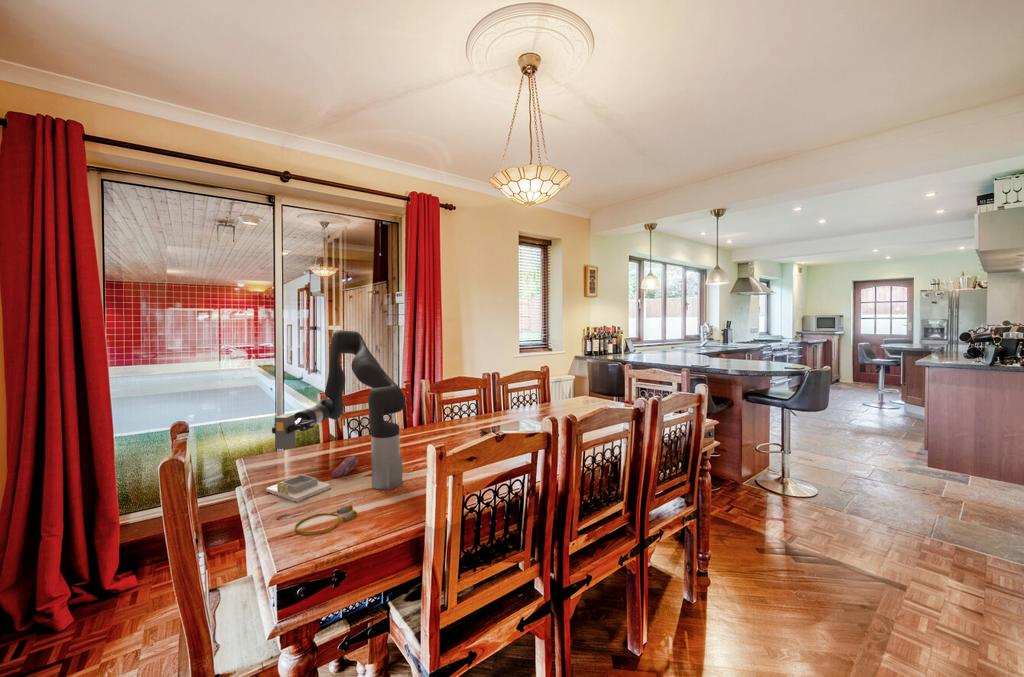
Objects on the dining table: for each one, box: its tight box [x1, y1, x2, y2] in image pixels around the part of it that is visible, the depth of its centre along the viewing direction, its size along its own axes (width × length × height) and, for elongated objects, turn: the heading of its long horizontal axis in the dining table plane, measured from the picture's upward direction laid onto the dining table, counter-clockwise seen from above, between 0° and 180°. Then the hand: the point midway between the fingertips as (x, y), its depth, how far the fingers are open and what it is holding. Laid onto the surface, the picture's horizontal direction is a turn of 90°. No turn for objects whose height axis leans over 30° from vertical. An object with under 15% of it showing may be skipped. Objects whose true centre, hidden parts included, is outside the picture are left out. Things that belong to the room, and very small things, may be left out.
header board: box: [265, 473, 332, 503], centre depth 134 cm, size 16×12×4 cm
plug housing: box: [274, 413, 296, 450], centre depth 143 cm, size 4×5×11 cm
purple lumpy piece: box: [331, 455, 360, 478], centre depth 149 cm, size 10×5×7 cm, turn 169°
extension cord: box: [294, 504, 358, 536], centre depth 113 cm, size 12×16×2 cm
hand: (280, 430), depth 140 cm, fingers closed on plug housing, 4 cm apart
